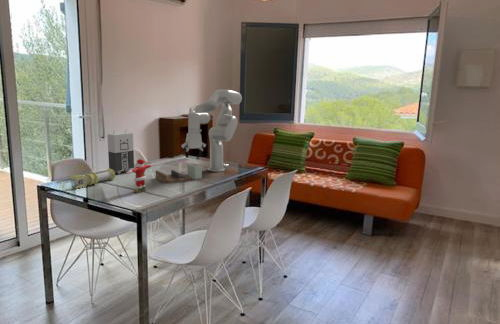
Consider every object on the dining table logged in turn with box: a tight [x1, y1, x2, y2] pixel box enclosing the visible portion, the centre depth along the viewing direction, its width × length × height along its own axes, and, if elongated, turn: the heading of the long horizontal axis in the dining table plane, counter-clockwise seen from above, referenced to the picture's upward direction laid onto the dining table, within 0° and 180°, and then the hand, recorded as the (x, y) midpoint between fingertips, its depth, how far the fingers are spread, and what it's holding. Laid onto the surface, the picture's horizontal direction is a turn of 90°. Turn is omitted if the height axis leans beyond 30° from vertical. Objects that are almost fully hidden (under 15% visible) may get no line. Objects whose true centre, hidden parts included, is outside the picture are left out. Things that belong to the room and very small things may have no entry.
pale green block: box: [186, 163, 203, 180], centre depth 250 cm, size 5×12×8 cm, turn 33°
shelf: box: [155, 169, 192, 185], centre depth 242 cm, size 18×16×5 cm
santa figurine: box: [125, 158, 155, 194], centre depth 211 cm, size 25×6×19 cm, turn 159°
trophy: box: [69, 168, 116, 189], centre depth 225 cm, size 8×8×30 cm
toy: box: [107, 129, 135, 175], centre depth 255 cm, size 15×7×30 cm, turn 145°
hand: (193, 157), depth 248 cm, fingers open, 9 cm apart
